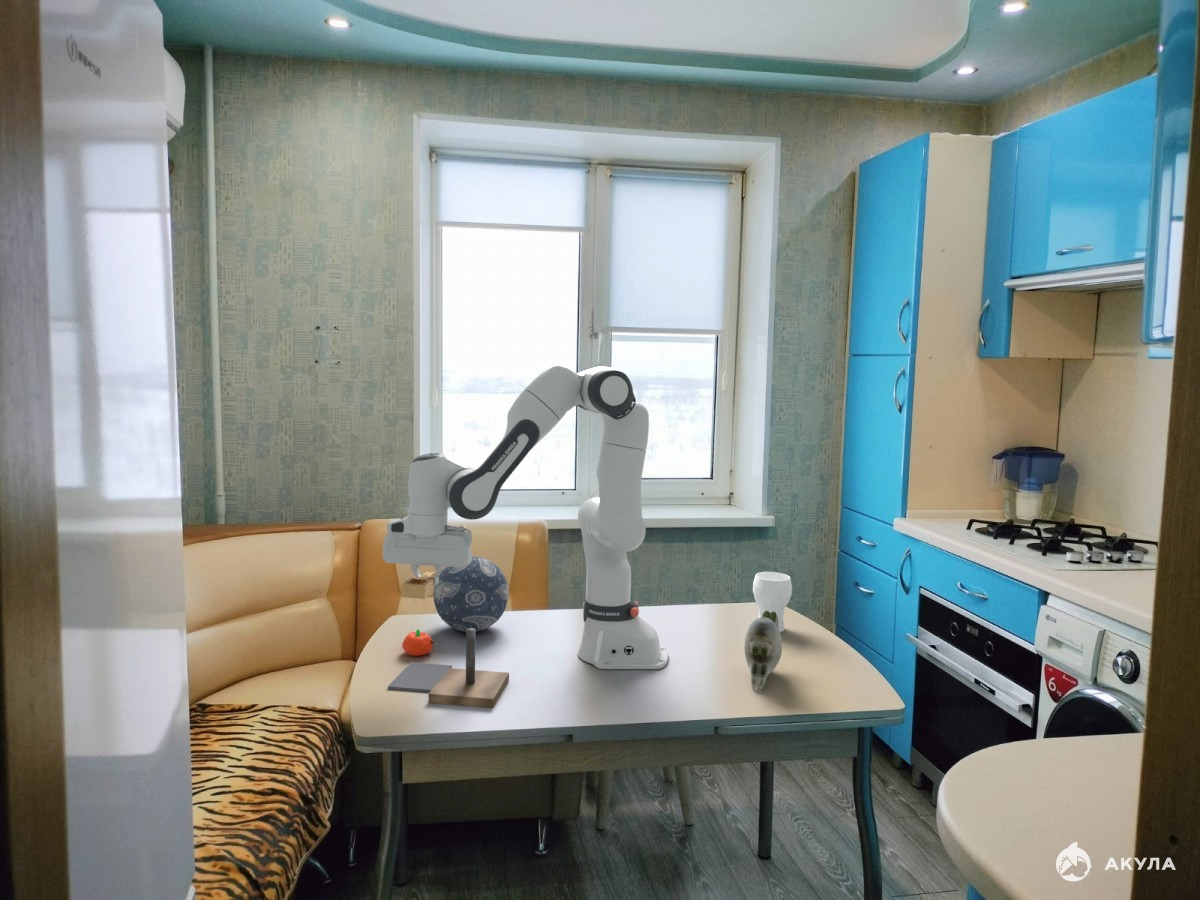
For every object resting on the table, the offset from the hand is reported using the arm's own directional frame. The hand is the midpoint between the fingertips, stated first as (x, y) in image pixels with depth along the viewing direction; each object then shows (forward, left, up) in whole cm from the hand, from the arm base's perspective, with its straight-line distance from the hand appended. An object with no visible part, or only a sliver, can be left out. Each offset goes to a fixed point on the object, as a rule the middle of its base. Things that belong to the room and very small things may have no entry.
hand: (427, 583), depth 177 cm
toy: (-78, -13, -21) cm, 82 cm away
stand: (-13, +9, -21) cm, 26 cm away
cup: (-83, -47, -21) cm, 98 cm away
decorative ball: (-2, -29, -21) cm, 36 cm away
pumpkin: (+6, -10, -21) cm, 24 cm away
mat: (0, +4, -21) cm, 21 cm away
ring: (0, +3, -1) cm, 3 cm away
